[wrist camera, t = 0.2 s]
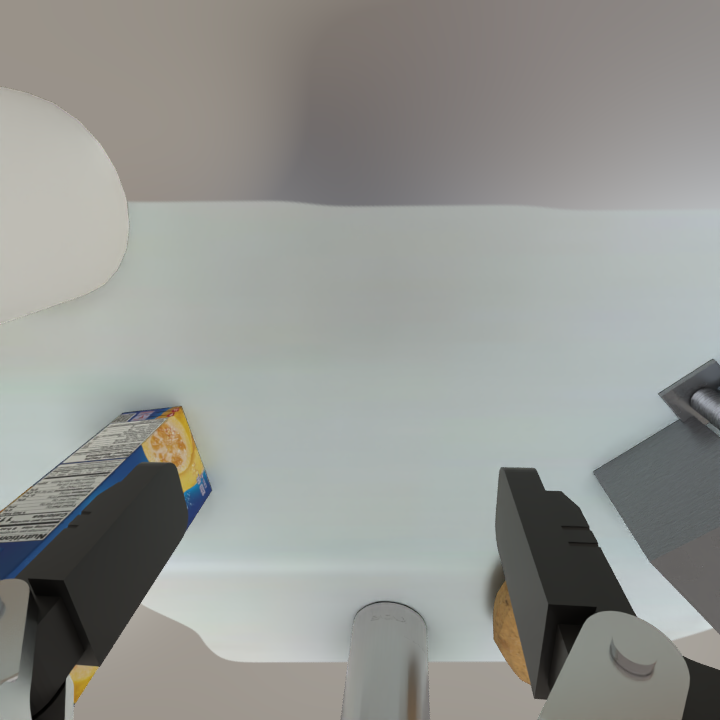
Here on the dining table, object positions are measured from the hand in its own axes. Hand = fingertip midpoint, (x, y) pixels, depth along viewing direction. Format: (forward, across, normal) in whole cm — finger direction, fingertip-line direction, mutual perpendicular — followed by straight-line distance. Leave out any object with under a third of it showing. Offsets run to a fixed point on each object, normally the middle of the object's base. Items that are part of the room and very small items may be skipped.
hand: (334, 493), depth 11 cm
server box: (+29, +29, -20) cm, 46 cm away
